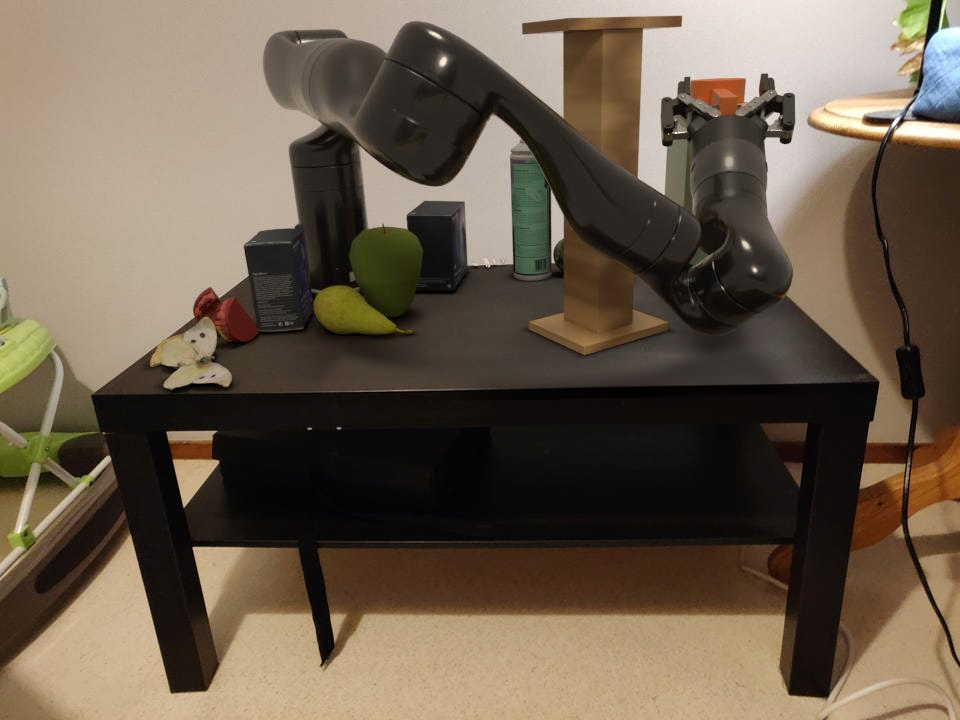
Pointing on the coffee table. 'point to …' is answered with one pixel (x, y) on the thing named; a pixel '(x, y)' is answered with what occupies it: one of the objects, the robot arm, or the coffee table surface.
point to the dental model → (225, 316)
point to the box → (279, 279)
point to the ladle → (720, 93)
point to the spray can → (530, 216)
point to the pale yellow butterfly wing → (160, 352)
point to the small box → (440, 243)
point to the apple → (387, 268)
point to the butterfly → (194, 357)
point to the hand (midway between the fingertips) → (724, 81)
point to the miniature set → (488, 262)
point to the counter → (681, 178)
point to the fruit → (350, 313)
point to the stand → (615, 131)
